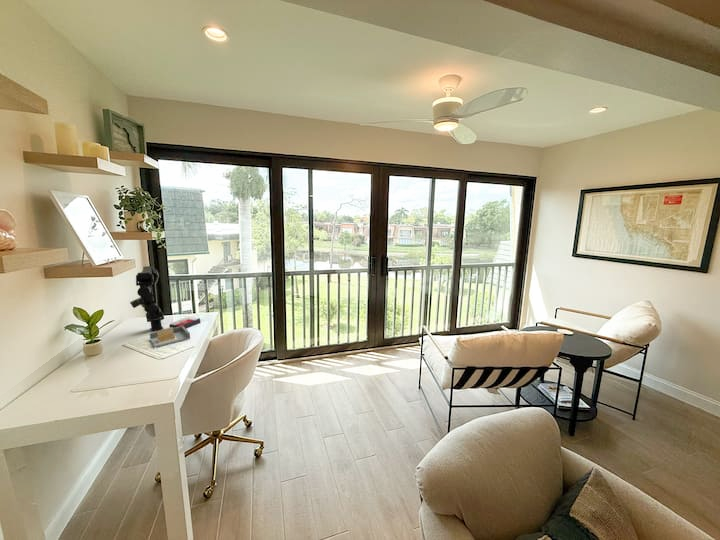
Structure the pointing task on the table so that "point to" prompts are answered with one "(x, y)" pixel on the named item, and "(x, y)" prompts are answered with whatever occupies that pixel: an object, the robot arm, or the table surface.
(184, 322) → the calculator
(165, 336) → the bracket
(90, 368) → the table surface
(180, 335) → the arena
